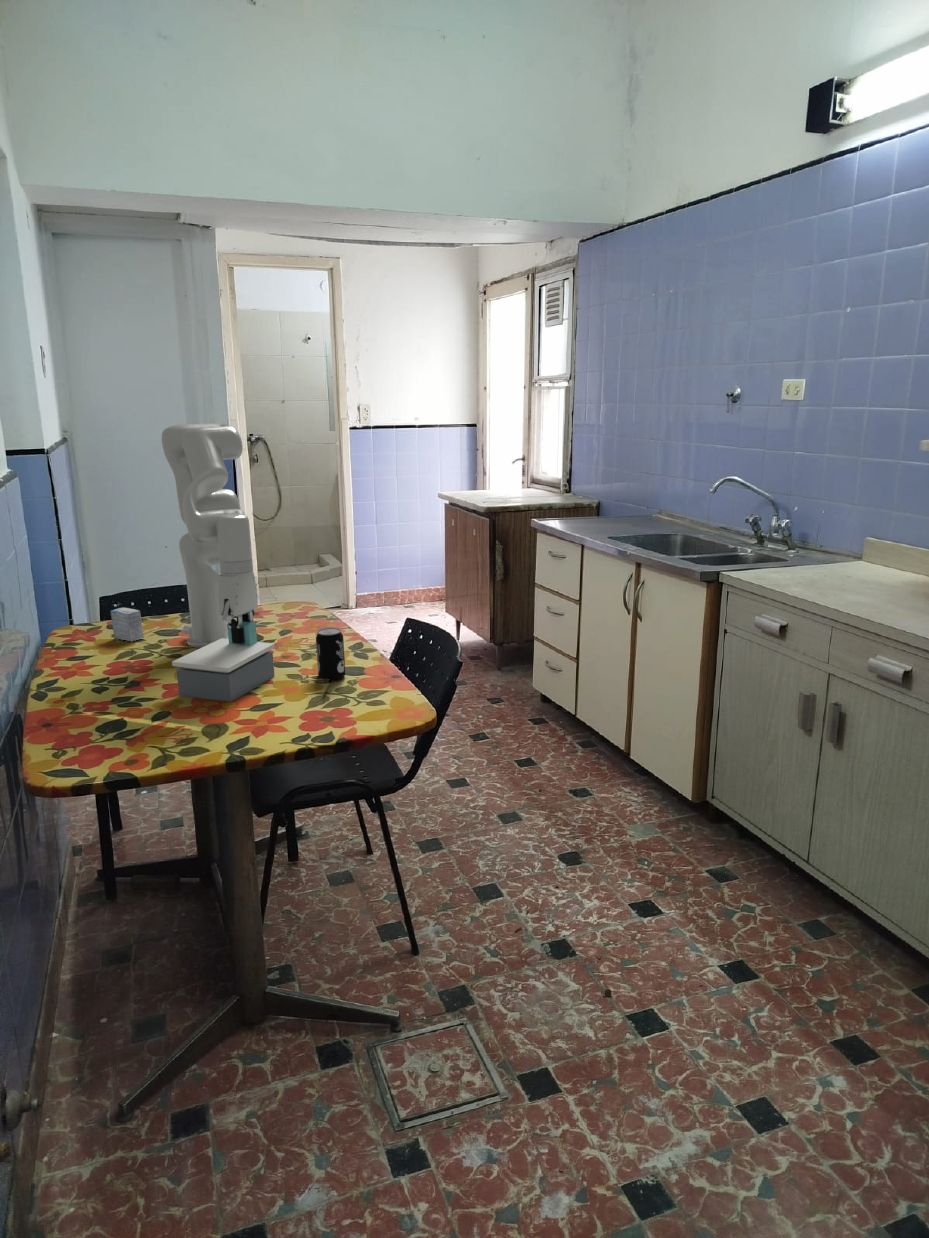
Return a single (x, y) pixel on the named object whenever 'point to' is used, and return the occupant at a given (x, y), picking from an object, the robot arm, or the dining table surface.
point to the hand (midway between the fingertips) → (242, 640)
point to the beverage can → (330, 654)
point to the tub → (226, 680)
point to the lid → (226, 652)
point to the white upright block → (127, 624)
